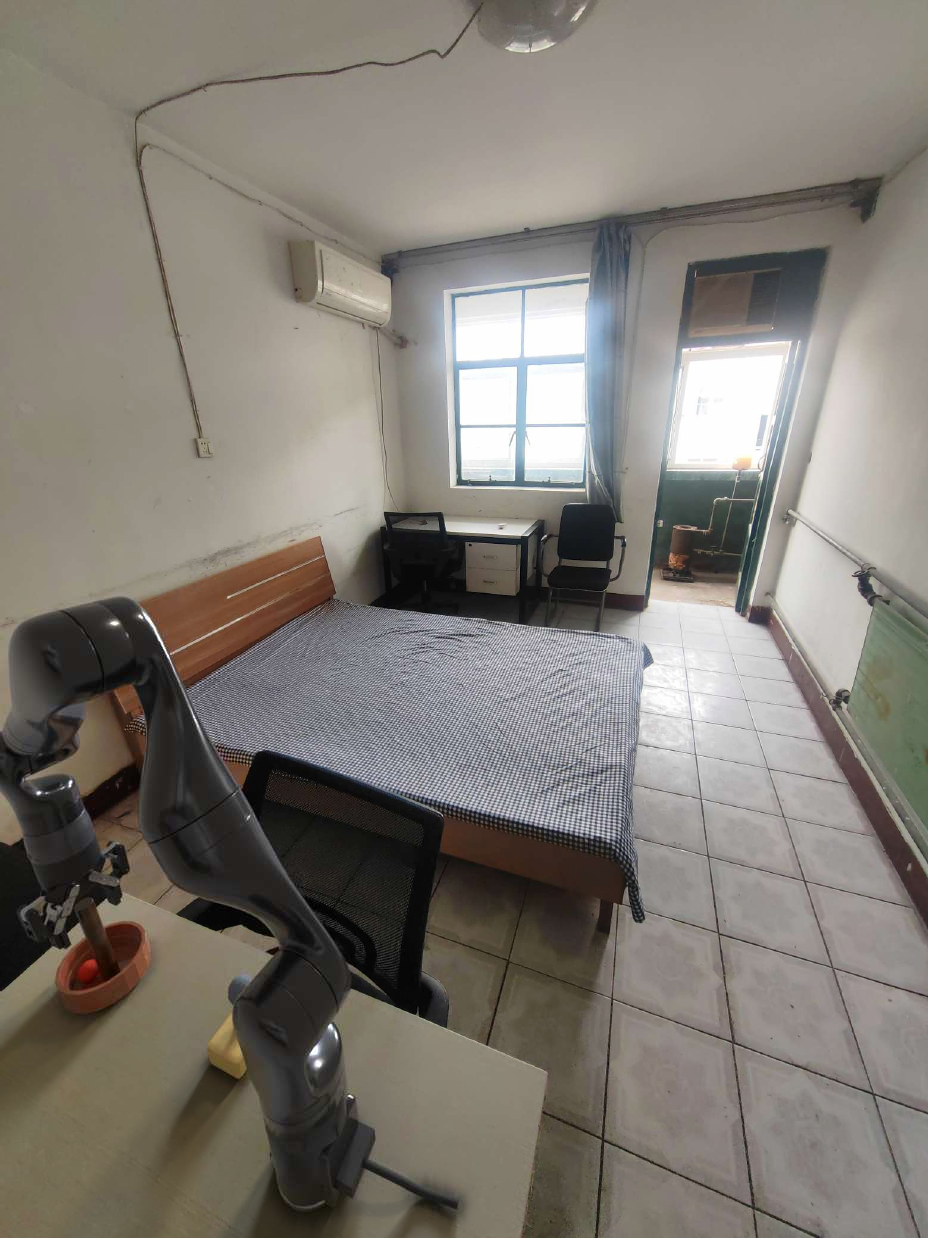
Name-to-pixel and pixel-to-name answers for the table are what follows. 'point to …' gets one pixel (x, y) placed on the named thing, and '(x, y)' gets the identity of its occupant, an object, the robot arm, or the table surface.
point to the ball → (88, 971)
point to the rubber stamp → (229, 1036)
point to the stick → (97, 938)
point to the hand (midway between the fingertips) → (91, 923)
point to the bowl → (96, 993)
